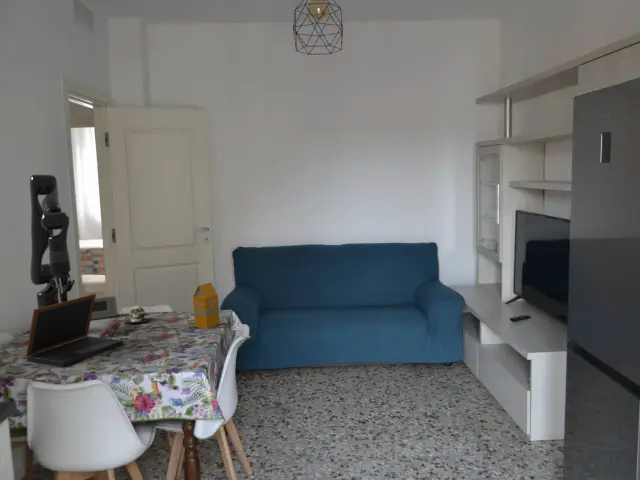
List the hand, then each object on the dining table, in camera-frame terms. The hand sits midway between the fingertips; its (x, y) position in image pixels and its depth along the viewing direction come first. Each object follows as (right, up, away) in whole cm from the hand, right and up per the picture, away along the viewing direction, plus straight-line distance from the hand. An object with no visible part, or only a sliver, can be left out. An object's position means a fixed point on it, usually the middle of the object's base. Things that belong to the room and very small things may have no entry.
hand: (64, 301), depth 236 cm
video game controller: (+10, -18, +26) cm, 33 cm away
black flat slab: (+5, -21, +1) cm, 22 cm away
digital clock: (-7, -15, +59) cm, 61 cm away
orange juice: (+53, -15, +34) cm, 65 cm away
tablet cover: (-1, -10, +2) cm, 10 cm away
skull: (+15, -15, +48) cm, 52 cm away
